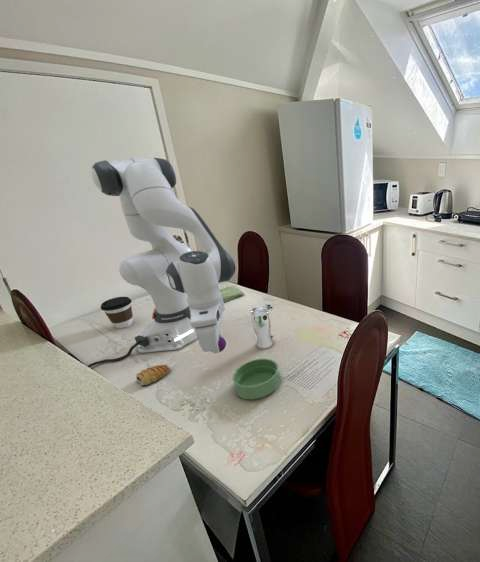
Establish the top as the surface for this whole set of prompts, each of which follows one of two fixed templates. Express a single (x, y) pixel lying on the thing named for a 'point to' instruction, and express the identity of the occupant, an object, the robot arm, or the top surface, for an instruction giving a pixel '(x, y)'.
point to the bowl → (256, 378)
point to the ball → (221, 343)
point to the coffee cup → (119, 311)
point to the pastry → (152, 374)
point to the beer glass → (262, 327)
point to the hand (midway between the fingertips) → (217, 346)
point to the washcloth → (230, 293)
